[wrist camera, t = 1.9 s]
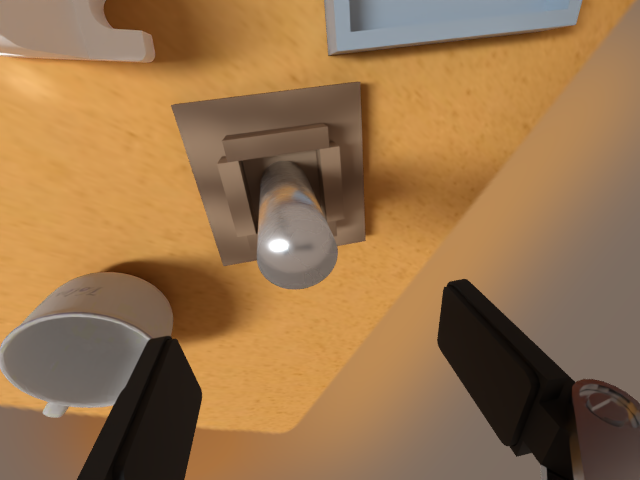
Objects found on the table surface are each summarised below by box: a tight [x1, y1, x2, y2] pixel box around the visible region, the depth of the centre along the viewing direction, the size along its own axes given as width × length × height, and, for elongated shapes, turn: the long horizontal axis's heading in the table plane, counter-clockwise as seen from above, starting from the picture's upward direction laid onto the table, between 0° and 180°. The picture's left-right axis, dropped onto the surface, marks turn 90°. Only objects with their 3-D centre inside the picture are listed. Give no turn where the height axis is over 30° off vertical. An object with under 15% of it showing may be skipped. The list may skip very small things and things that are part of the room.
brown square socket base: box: [171, 82, 365, 266], centre depth 24 cm, size 14×14×4 cm
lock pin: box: [257, 161, 338, 289], centre depth 19 cm, size 4×4×12 cm
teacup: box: [0, 272, 173, 417], centre depth 26 cm, size 14×11×8 cm
